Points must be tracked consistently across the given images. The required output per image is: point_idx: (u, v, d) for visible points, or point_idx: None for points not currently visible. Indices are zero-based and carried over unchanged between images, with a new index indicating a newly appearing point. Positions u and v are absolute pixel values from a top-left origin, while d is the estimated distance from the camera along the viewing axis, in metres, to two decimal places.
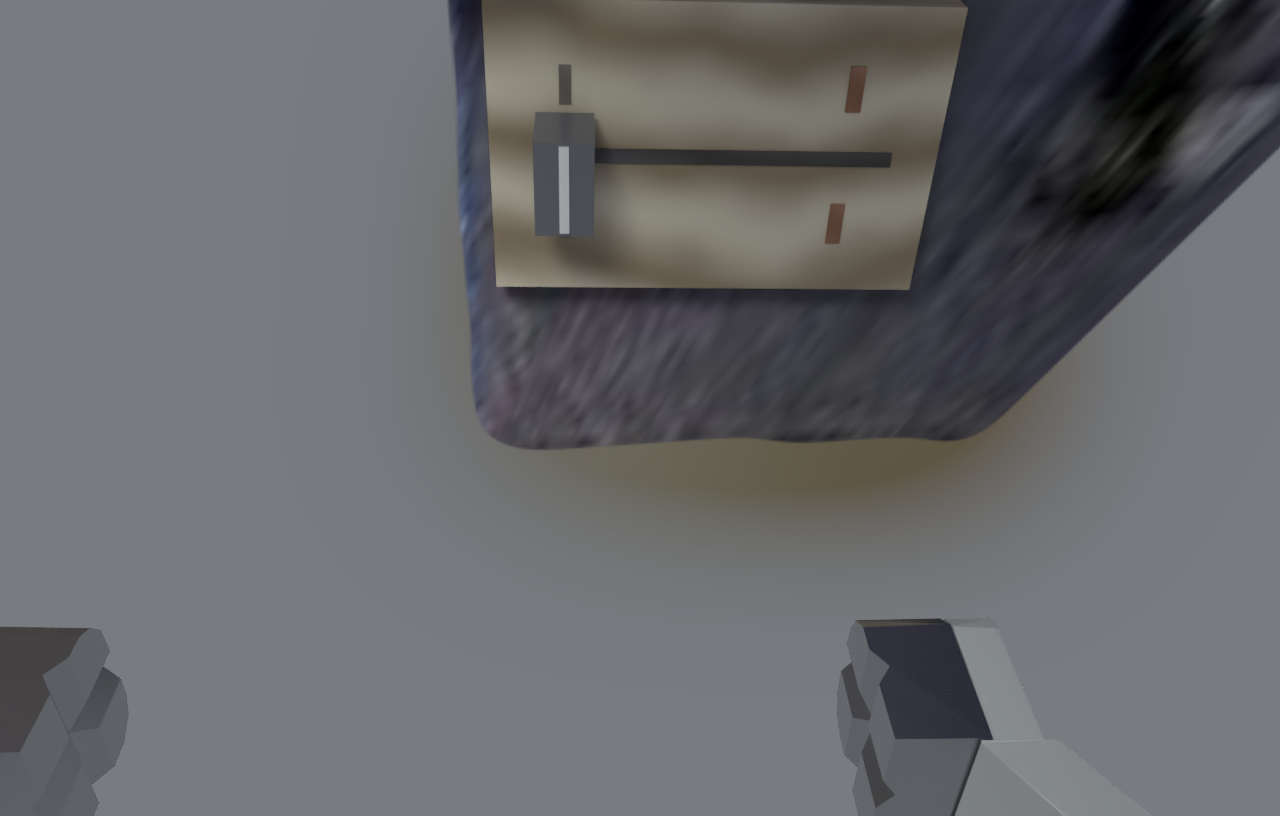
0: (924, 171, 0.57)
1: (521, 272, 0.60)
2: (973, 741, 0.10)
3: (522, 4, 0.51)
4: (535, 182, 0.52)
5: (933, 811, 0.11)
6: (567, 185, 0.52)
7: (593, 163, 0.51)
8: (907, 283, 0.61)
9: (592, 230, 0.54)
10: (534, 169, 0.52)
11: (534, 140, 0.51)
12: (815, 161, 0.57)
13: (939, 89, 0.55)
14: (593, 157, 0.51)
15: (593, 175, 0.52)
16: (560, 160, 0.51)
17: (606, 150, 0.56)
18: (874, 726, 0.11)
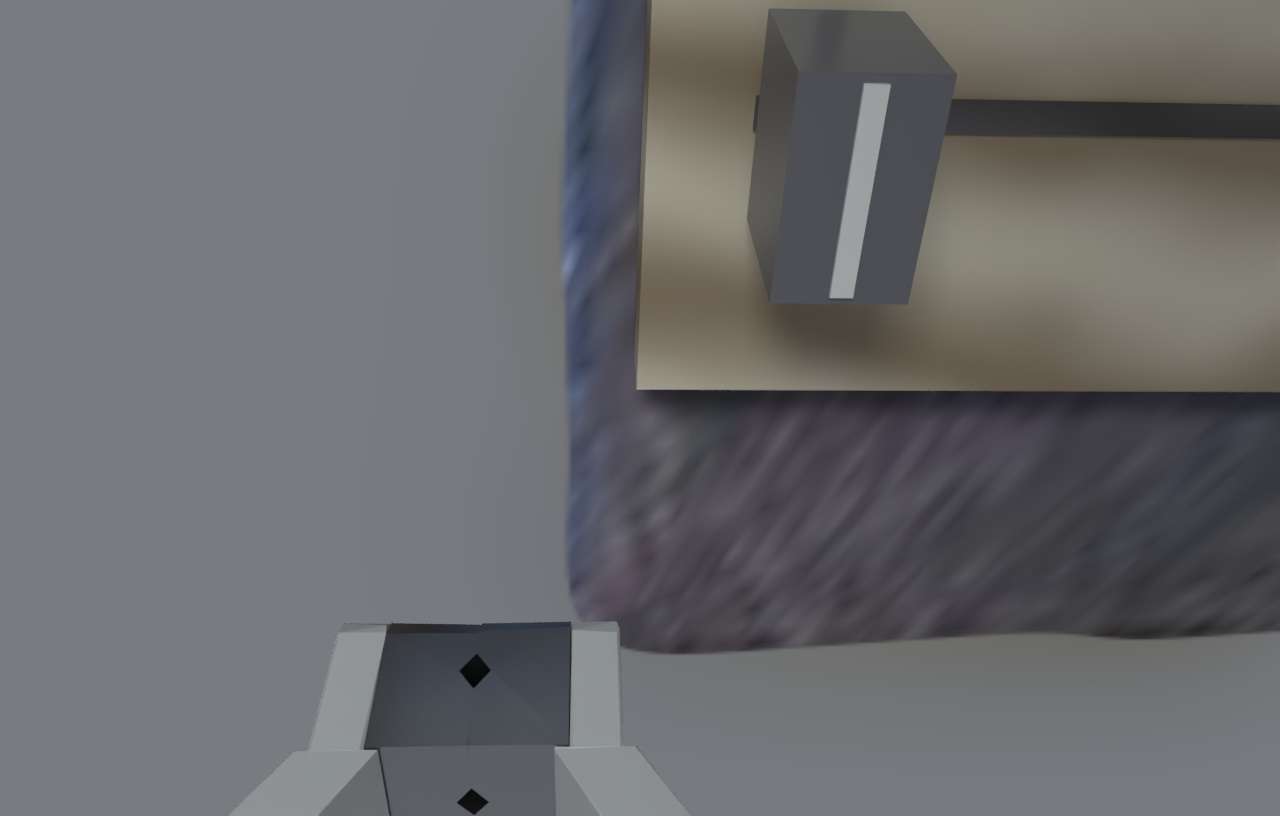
0: None
1: (690, 362, 0.29)
2: (549, 747, 0.10)
3: None
4: (790, 175, 0.21)
5: None
6: (869, 184, 0.21)
7: (942, 127, 0.20)
8: None
9: (907, 290, 0.22)
10: (792, 143, 0.20)
11: (800, 67, 0.20)
12: None
13: None
14: (946, 112, 0.20)
15: (936, 158, 0.21)
16: (863, 119, 0.20)
17: None
18: None
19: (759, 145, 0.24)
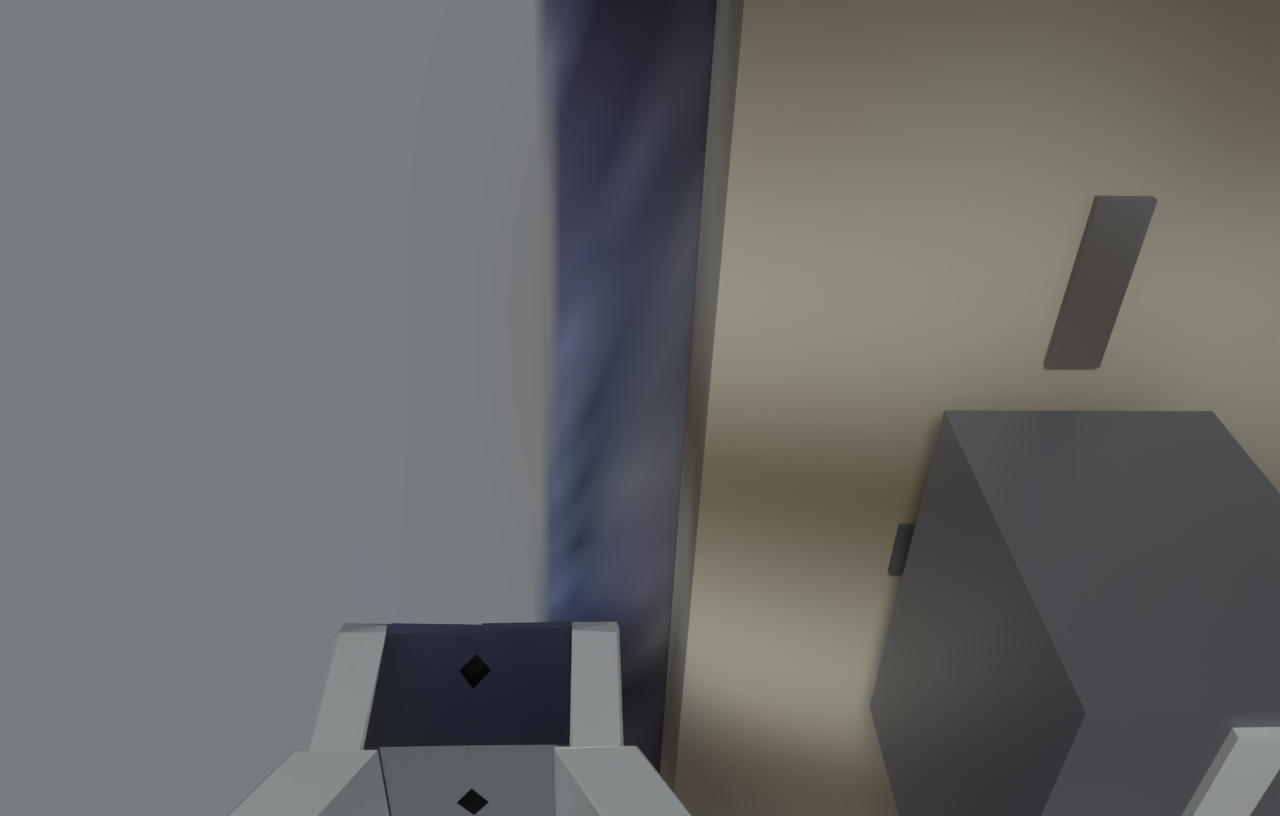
0: None
1: None
2: (549, 747, 0.10)
3: None
4: None
5: None
6: None
7: None
8: None
9: None
10: None
11: (1084, 689, 0.08)
12: None
13: None
14: None
15: None
16: (1221, 789, 0.09)
17: None
18: None
19: (911, 636, 0.13)
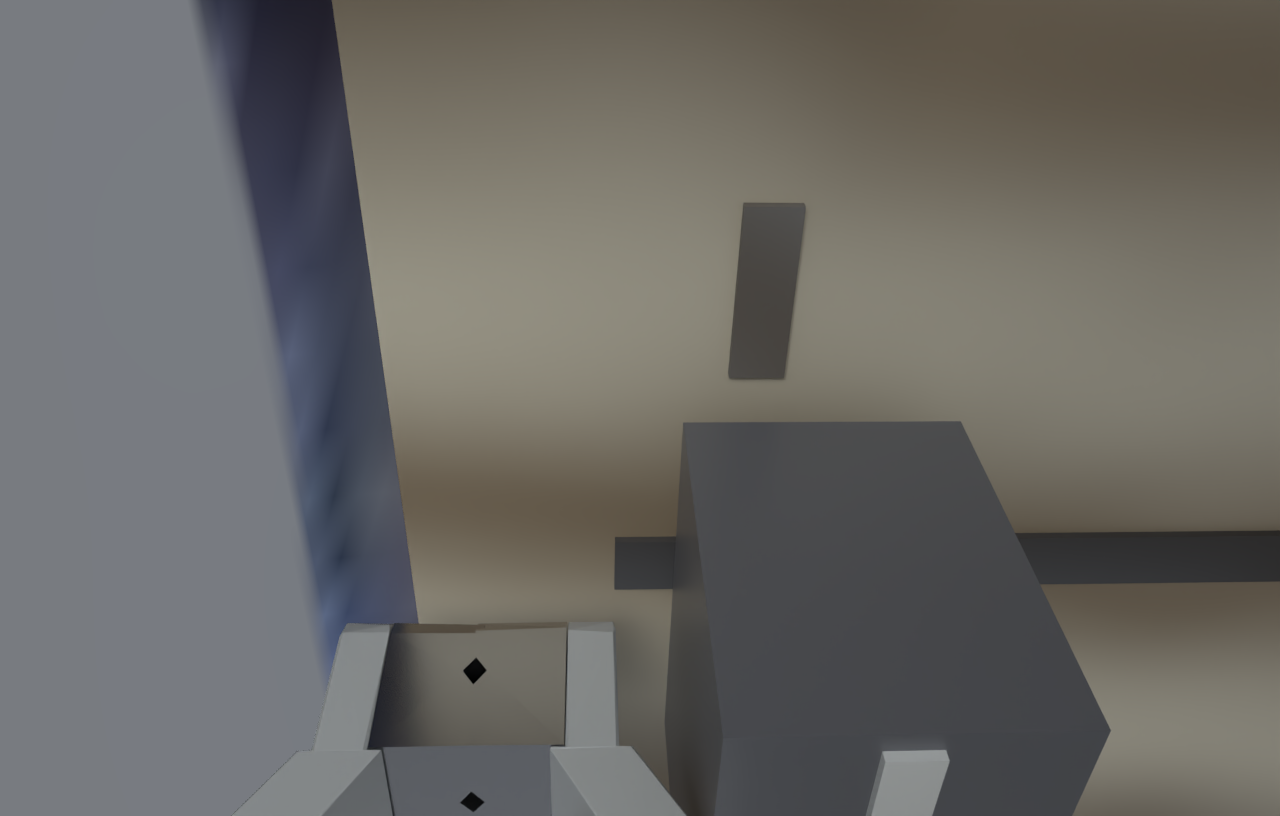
0: None
1: None
2: (545, 747, 0.10)
3: None
4: None
5: None
6: None
7: (1067, 809, 0.09)
8: None
9: None
10: None
11: (731, 711, 0.08)
12: None
13: None
14: (1077, 787, 0.09)
15: None
16: (884, 811, 0.08)
17: None
18: None
19: (675, 651, 0.12)
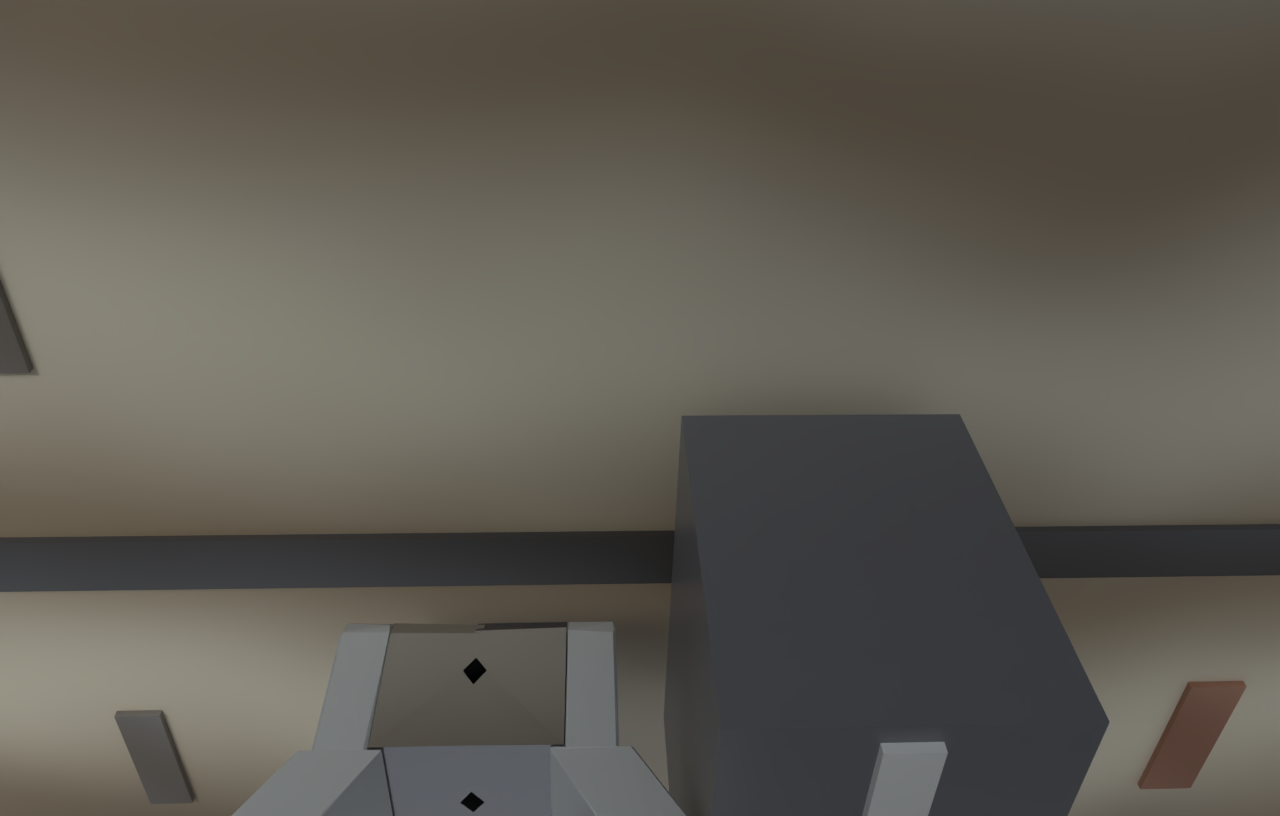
0: None
1: None
2: (545, 747, 0.10)
3: None
4: None
5: None
6: None
7: (1066, 801, 0.09)
8: None
9: None
10: None
11: (728, 704, 0.08)
12: (1163, 558, 0.13)
13: None
14: (1076, 779, 0.09)
15: None
16: (882, 805, 0.08)
17: (259, 542, 0.13)
18: None
19: (674, 645, 0.12)
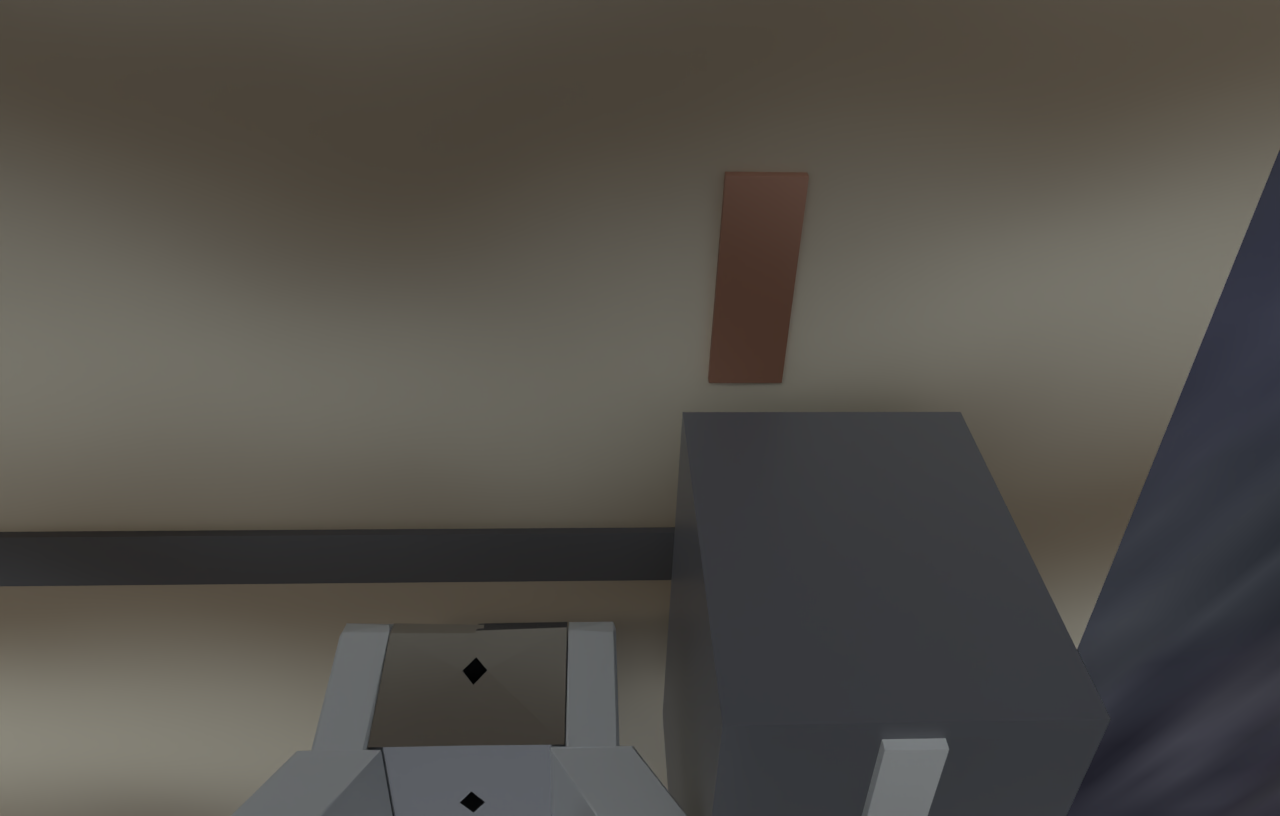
0: (1064, 584, 0.14)
1: None
2: (545, 747, 0.10)
3: None
4: None
5: None
6: None
7: (1066, 798, 0.09)
8: None
9: None
10: None
11: (730, 699, 0.08)
12: (595, 563, 0.13)
13: (1171, 277, 0.11)
14: (1077, 776, 0.09)
15: None
16: (884, 801, 0.08)
17: None
18: None
19: (674, 642, 0.12)
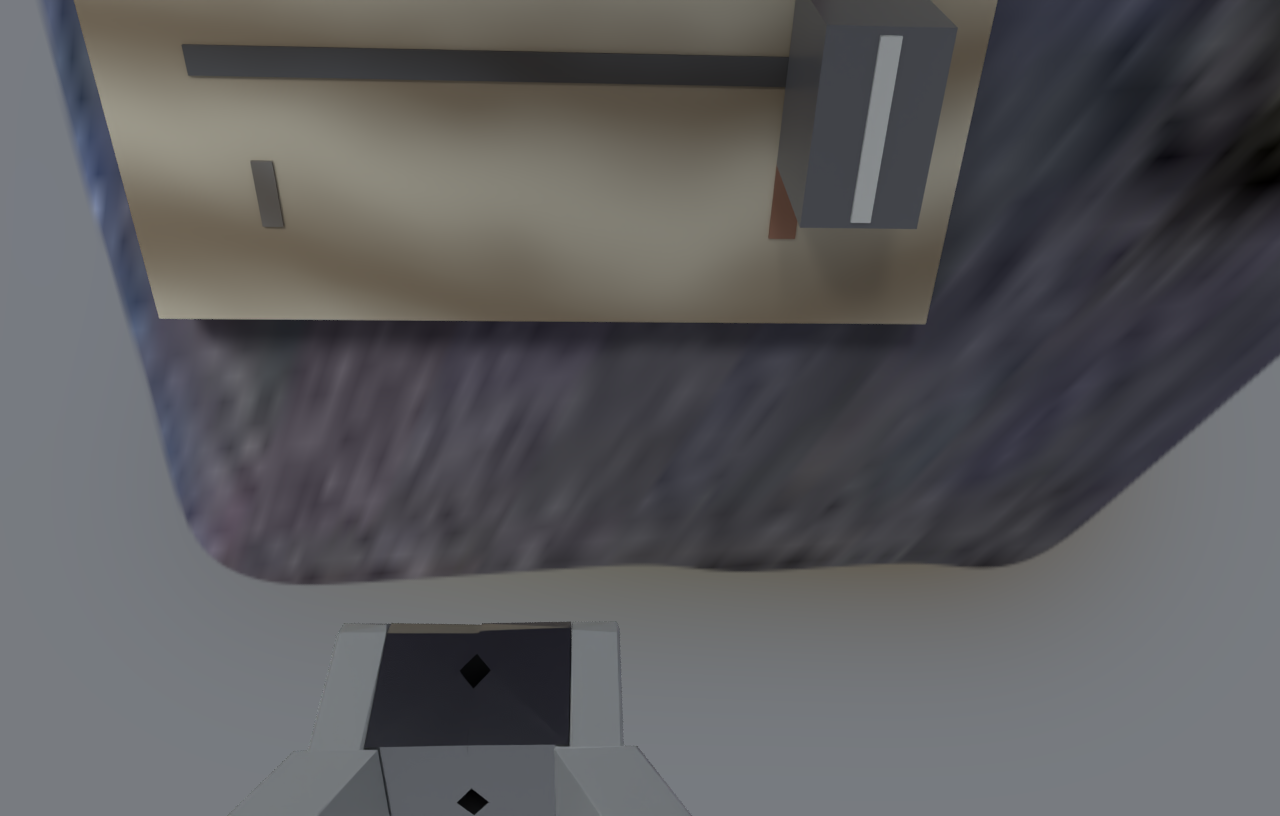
0: (957, 97, 0.29)
1: (201, 292, 0.32)
2: (549, 747, 0.10)
3: None
4: (819, 114, 0.25)
5: None
6: (885, 122, 0.25)
7: (945, 73, 0.24)
8: (923, 312, 0.33)
9: (916, 216, 0.27)
10: (821, 86, 0.25)
11: (828, 22, 0.24)
12: (743, 74, 0.29)
13: None
14: (948, 60, 0.24)
15: (940, 100, 0.25)
16: (880, 65, 0.24)
17: (324, 51, 0.28)
18: None
19: (789, 98, 0.28)
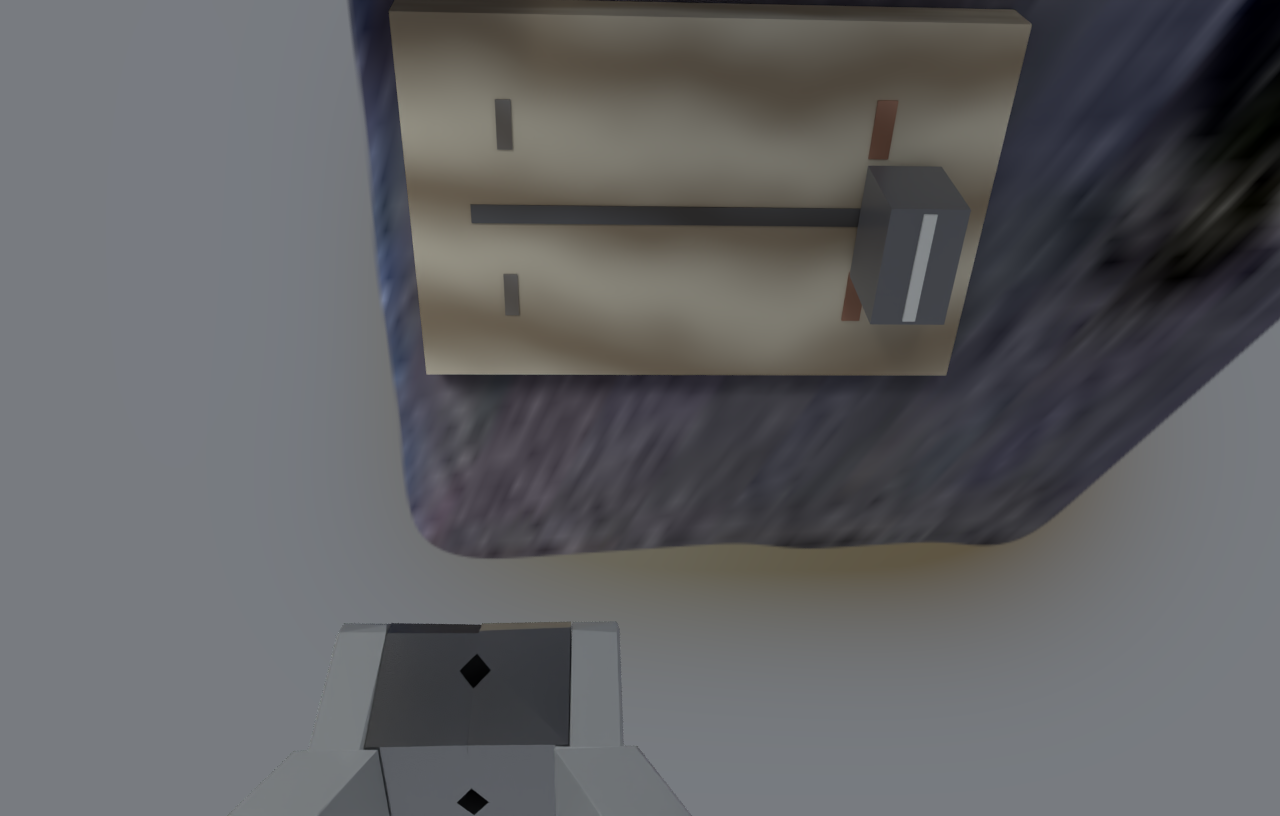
0: (969, 232, 0.45)
1: (457, 357, 0.47)
2: (549, 747, 0.10)
3: (443, 21, 0.39)
4: (884, 259, 0.40)
5: None
6: (925, 263, 0.40)
7: (963, 235, 0.40)
8: (944, 368, 0.49)
9: (943, 317, 0.42)
10: (887, 242, 0.40)
11: (892, 206, 0.39)
12: (829, 220, 0.44)
13: (991, 129, 0.42)
14: (965, 227, 0.40)
15: (960, 249, 0.40)
16: (923, 231, 0.40)
17: (560, 208, 0.43)
18: None
19: (860, 237, 0.43)
